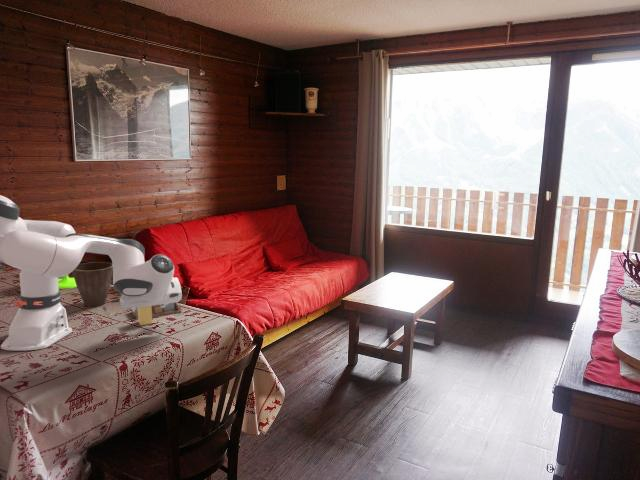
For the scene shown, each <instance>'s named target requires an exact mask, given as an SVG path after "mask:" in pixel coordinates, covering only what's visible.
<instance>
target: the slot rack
mask: <svg viewBox="0 0 640 480" xmlns="http://www.w3.org/2000/svg"><path fill="white" fill-rule="evenodd" d="M131 313H132V315H133V316H134V317H135V319H136V320H137V321H138V311H137V312H133V310H132V309H131ZM181 313H182V307H181V303H179V302H174V311H170V312H163V311H162V308H160V305H153V306H152V318H157V317H163V316H168V315H169V316H170V315H175V314H181Z"/></svg>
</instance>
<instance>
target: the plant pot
mask: <svg viewBox="0 0 640 480" xmlns="http://www.w3.org/2000/svg"><path fill="white" fill-rule="evenodd" d="M72 275H73V278H74V279H75V282H76V285H77V287H76V288H77V290H78V292H79V295H80V297H81V300H82V301H83V303H84V305H85V306H86V307H91V308H92V307H99V306H102V305H105V304H106V302H107V298H108V294H109V291H110V289H111V288H110V287H111V283H112V278H113V265H112V262H105V261H94V262H92V261H91V262H85V263H84V262H83V263H79V265H78V266H77V267H76V268H75V269H74V270H73V271H72Z"/></svg>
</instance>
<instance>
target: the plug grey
mask: <svg viewBox="0 0 640 480" xmlns="http://www.w3.org/2000/svg"><path fill="white" fill-rule="evenodd" d="M162 311H163V312H170V311H174V303H169V304H167V305H166V306H165V307H164V308H162Z"/></svg>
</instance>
